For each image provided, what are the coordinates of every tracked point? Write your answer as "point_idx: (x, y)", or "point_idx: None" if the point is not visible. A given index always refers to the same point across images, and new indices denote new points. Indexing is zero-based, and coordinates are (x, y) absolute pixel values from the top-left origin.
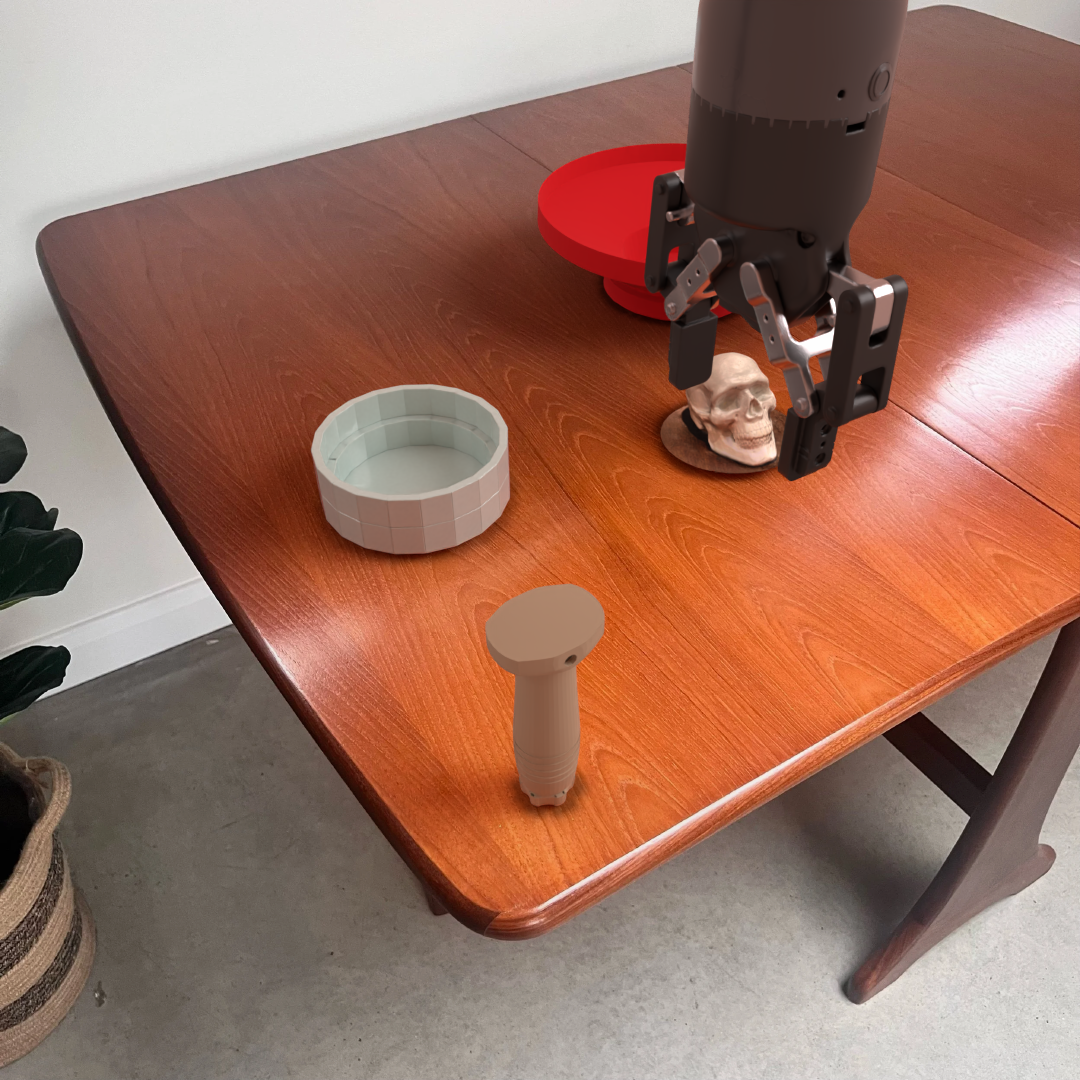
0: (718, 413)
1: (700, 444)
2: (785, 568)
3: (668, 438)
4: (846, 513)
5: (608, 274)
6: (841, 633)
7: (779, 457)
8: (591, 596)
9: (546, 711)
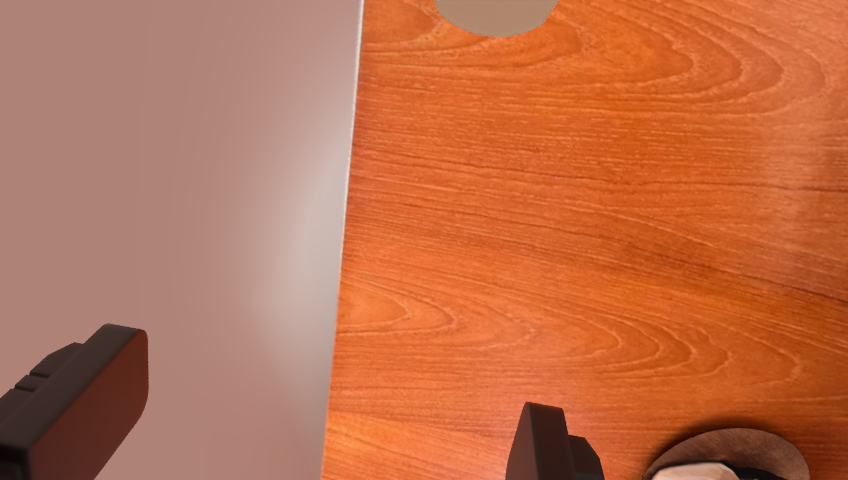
0: None
1: (739, 461)
2: (529, 376)
3: (780, 446)
4: None
5: None
6: (426, 345)
7: (118, 349)
8: (492, 32)
9: None
